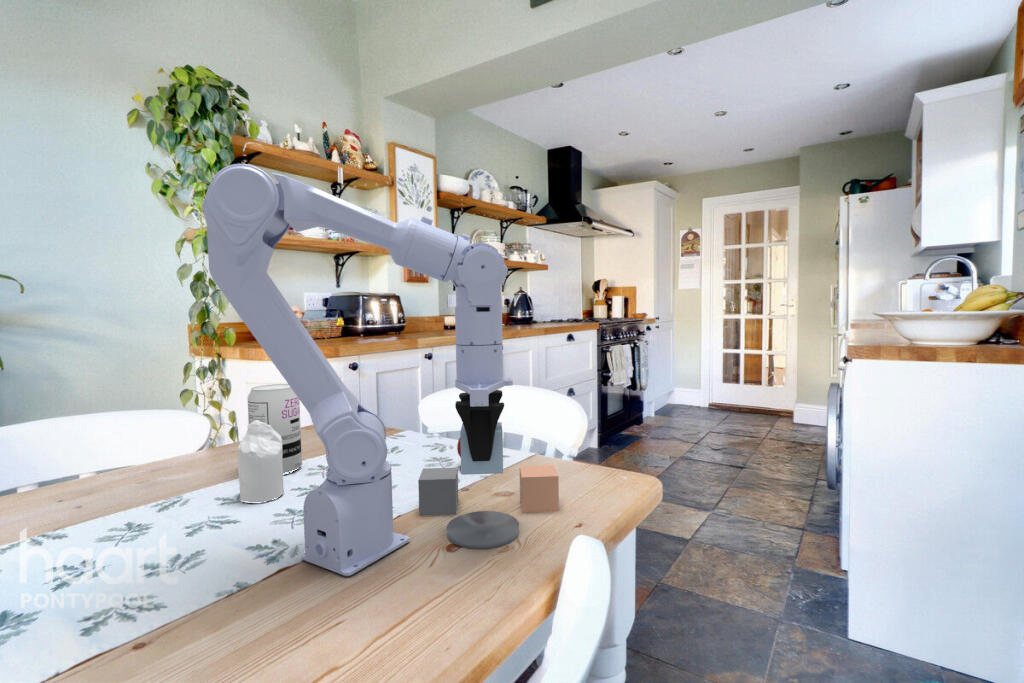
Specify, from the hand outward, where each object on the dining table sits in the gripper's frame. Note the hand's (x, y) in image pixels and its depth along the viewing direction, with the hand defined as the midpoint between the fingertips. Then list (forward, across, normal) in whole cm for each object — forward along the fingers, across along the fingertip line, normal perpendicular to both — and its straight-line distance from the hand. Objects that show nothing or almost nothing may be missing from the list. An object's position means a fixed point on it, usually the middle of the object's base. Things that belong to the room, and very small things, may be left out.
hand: (481, 453), depth 61 cm
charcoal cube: (+10, +8, +6) cm, 14 cm away
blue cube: (+2, 0, 0) cm, 2 cm away
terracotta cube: (+10, +8, -8) cm, 15 cm away
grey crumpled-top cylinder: (+10, +15, +34) cm, 38 cm away
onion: (+10, +26, +2) cm, 28 cm away
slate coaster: (+10, 0, 0) cm, 10 cm away
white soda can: (+10, +28, +37) cm, 47 cm away
